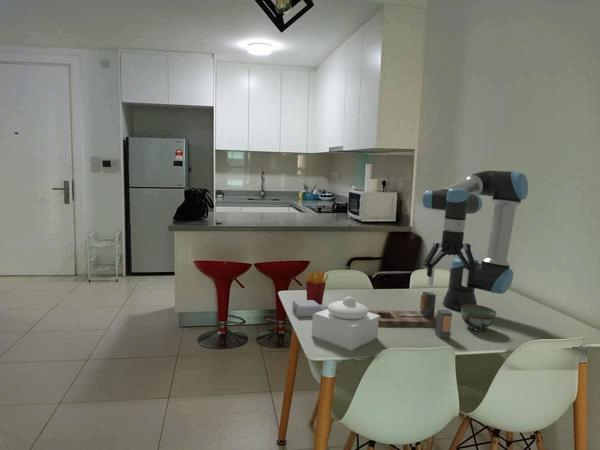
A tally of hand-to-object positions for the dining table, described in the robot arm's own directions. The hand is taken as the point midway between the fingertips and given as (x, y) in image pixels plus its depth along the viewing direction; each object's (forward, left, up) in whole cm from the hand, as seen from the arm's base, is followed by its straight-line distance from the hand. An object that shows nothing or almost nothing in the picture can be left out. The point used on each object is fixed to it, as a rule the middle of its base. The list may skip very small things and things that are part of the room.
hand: (447, 285), depth 175 cm
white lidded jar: (+39, +1, -21) cm, 44 cm away
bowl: (-19, -9, -20) cm, 29 cm away
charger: (+47, -25, -21) cm, 57 cm away
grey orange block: (0, 0, -20) cm, 20 cm away
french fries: (+43, -40, -20) cm, 62 cm away
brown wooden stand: (+8, -17, -20) cm, 28 cm away
